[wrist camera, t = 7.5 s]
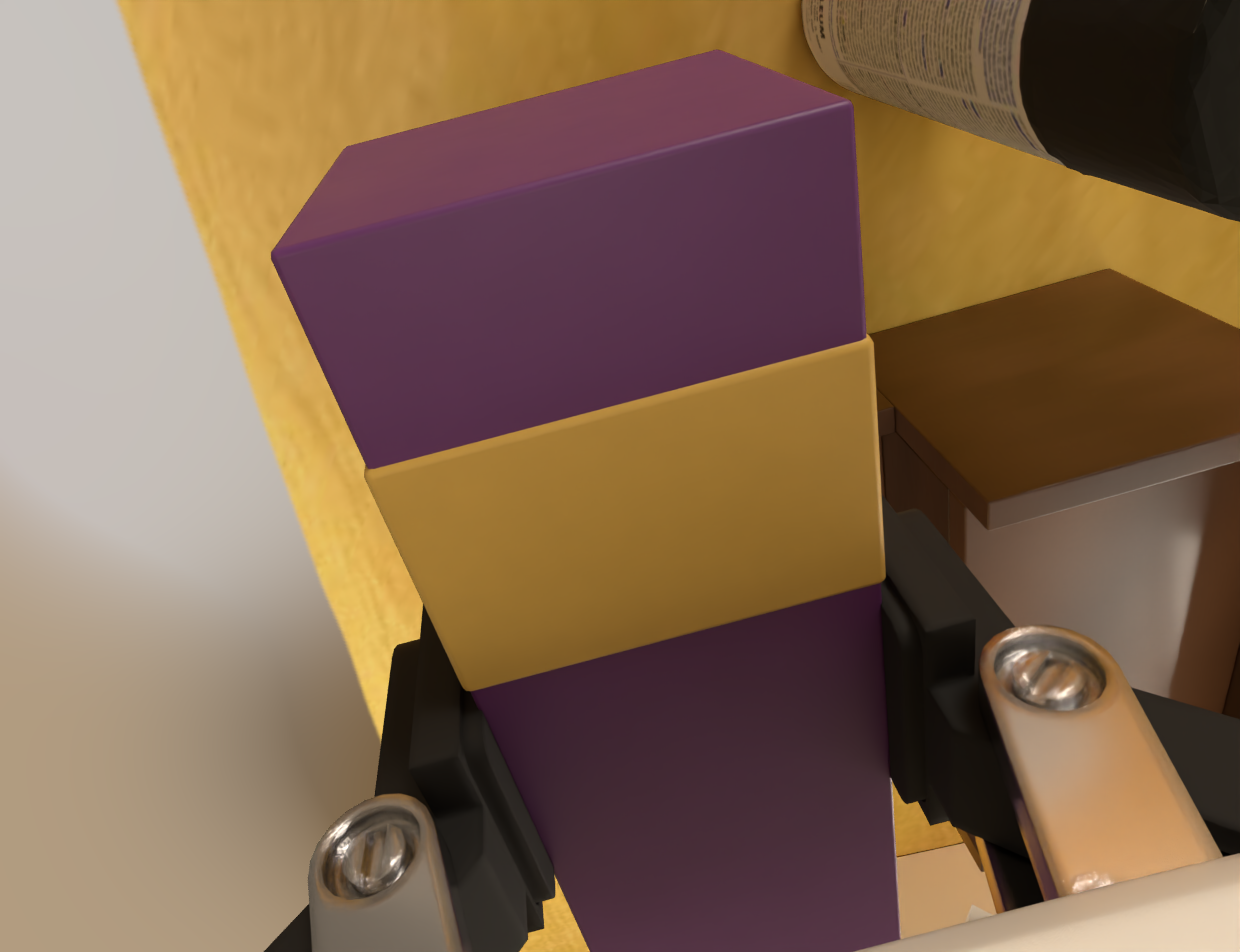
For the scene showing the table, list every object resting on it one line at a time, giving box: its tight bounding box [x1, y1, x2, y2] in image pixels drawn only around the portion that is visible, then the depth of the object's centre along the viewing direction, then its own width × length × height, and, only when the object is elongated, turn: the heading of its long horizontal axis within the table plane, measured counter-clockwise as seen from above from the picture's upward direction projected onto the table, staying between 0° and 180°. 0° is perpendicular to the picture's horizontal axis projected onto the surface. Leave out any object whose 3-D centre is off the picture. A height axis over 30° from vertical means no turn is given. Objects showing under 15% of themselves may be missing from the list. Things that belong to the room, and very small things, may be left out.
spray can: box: [801, 0, 1240, 222], centre depth 23 cm, size 7×7×20 cm
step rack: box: [869, 269, 1240, 872], centre depth 38 cm, size 23×21×15 cm
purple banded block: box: [271, 50, 901, 952], centre depth 11 cm, size 4×13×4 cm, turn 13°
